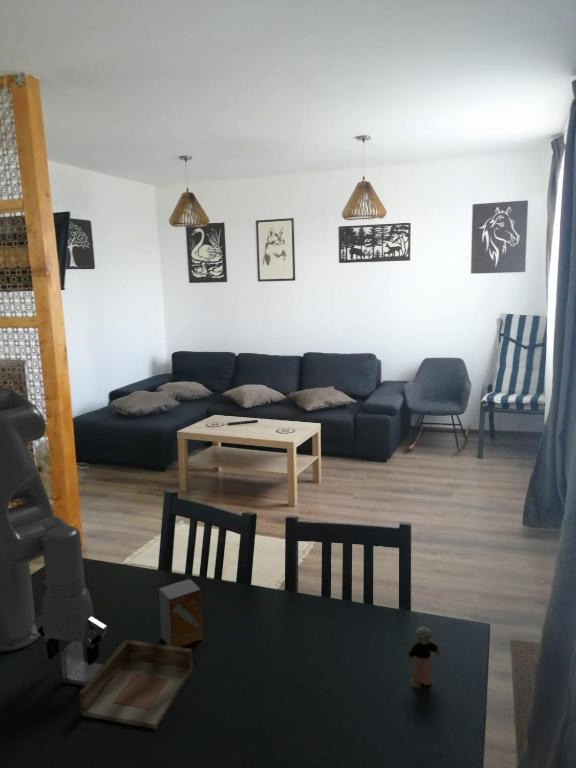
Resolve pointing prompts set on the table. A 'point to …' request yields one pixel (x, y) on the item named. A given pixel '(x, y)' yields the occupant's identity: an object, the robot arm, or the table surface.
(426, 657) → the grandmother figurine
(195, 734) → the table surface
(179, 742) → the table surface
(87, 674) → the bracket
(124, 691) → the wooden tray
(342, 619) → the table surface
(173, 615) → the small box
